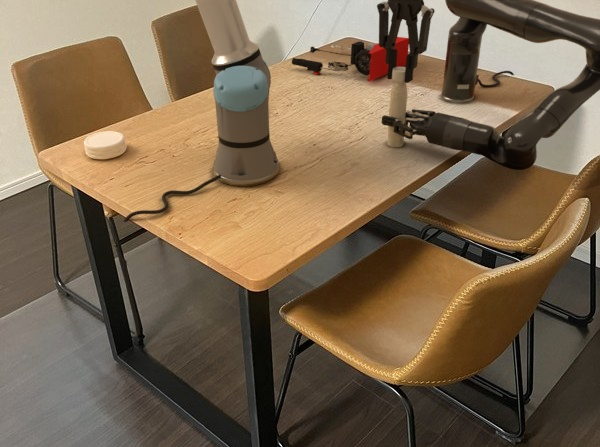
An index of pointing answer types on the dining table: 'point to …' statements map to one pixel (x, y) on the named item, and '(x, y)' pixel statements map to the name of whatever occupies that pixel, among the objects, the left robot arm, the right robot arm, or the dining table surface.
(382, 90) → the dining table surface
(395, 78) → the cap
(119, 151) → the white round disc
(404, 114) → the bottle
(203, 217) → the dining table surface
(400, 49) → the electric hoist
